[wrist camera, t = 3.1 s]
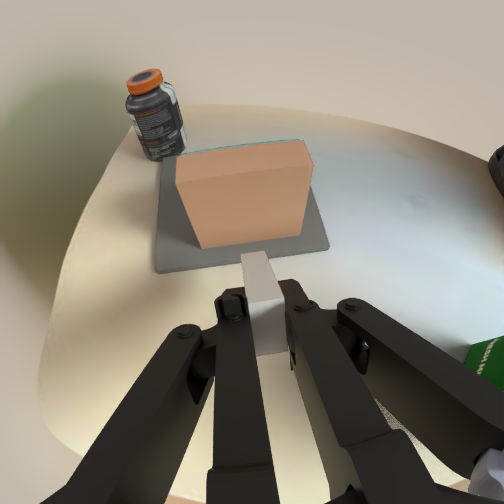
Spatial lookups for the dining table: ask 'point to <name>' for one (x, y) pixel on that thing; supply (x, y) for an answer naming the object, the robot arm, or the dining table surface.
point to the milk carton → (488, 360)
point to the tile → (245, 191)
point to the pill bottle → (155, 115)
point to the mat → (194, 257)
